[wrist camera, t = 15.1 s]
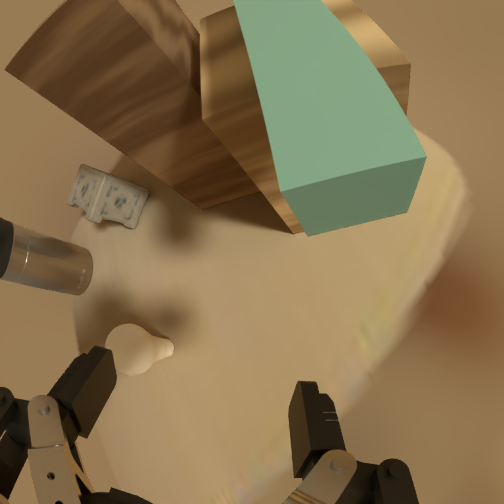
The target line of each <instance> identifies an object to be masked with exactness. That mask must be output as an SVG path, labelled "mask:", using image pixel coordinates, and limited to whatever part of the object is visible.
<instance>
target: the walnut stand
mask: <svg viewBox="0 0 504 504" xmlns="http://www.w3.org/2000/svg"><path fill="white" fill-rule="evenodd" d="M5 70H6V71H7V72H8V73H10V74H11V75H13V76H14V77H16V78H17V79H18V80H20V81H21V82H23V83H24V84H26V85H27V86H29V87H30V88H31V89H33V90H34V91H36V92H37V93H39V94H40V95H41V96H43V97H44V98H46V99H47V100H49V101H50V102H51V103H53V104H54V105H56V106H58V108H60V109H61V110H63V111H64V112H66V113H67V114H68V115H70V116H71V117H73V118H74V119H76V120H77V121H78V122H80V123H81V124H83V125H84V126H85V127H87V128H88V129H90V130H91V131H93V132H94V133H96V134H97V135H98V136H100V137H101V138H103V139H104V140H105V141H107V142H108V143H110V144H111V145H112V146H114V147H115V148H117V149H118V150H119V151H121V152H122V153H124V154H125V155H126V156H128V157H129V158H131V159H132V160H133V161H135V162H136V163H138V164H139V165H140V166H142V167H143V168H145V169H146V170H148V171H149V172H150V173H152V174H153V175H155V176H156V177H157V178H159V179H160V180H162V181H163V182H164V183H166V184H167V185H169V186H170V187H171V188H173V189H174V190H176V191H177V192H178V193H180V194H181V195H182V196H184V197H185V198H187V199H188V200H189V201H191V202H192V203H194V204H195V205H196V206H198V207H199V208H201V209H202V210H203V209H206V208H209V207H212V206H215V205H218V204H221V203H224V202H228V201H231V200H234V199H237V198H240V197H244V196H247V195H250V194H254V193H257V192H260V190H259V188H258V187H257V186H256V184H255V183H254V182H253V181H252V179H251V178H250V177H249V176H248V174H247V173H246V172H245V171H244V169H243V168H242V167H241V166H240V164H239V163H238V162H237V161H236V159H235V158H234V157H233V156H232V155H231V153H230V152H229V151H228V150H227V148H226V147H225V146H224V145H223V144H222V142H221V141H220V140H219V139H218V138H217V136H216V135H215V134H214V133H213V131H212V130H211V129H210V128H209V127H208V126H207V124H206V123H205V122H204V121H203V120H202V102H201V72H200V34H199V33H198V31H197V30H196V29H195V27H194V26H193V24H192V23H191V21H190V20H189V19H188V17H187V16H186V15H185V14H184V12H183V10H182V9H181V8H180V7H179V5H178V4H177V2H176V1H175V0H64V1H63V2H62V3H61V4H60V5H59V6H58V7H57V8H56V9H55V10H54V11H53V12H52V13H51V14H50V15H49V16H48V17H47V18H46V19H45V20H44V21H43V22H42V23H41V25H40V26H39V27H38V28H37V29H36V30H35V31H34V32H33V34H32V35H31V36H30V37H29V38H28V40H27V41H26V42H25V43H24V45H23V46H22V47H21V48H20V49H19V51H18V52H17V53H16V55H15V56H14V57H13V59H12V60H11V61H10V63H9V64H8V65H7V67H6V69H5Z"/></svg>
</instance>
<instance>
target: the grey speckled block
mask: <svg viewBox="0 0 504 504" xmlns="http://www.w3.org/2000/svg"><path fill="white" fill-rule="evenodd" d="M148 194H149V190H148V189H146V188H143V187H141V186H138V185H136V184H133V183H131V182H128V181H126V180H124V179H122V178H119V177H117V176H114V175H111V174H108V173H105V172H103V171H100V170H97V169H95V168H92V167H90V166H87V165H85V164H81V166H80V168H79V170H78V173H77V176H76V178H75V181H74V183H73V187H72V190H71V193H70V197H69V200H68V203H67V204H68V205H69V206H72V207H81V208H82V209H83V210H85V211H86V216H85V218H86V219H87V220H88V221H91V222H94V223H100V222H101V221H102V220H103V219H105V220H112V221H116V222H120V223H123V224H124V226H126V227H128V228H132V229H134V228H136V225H137V223H138V219H139V217H140V214H141V212H142V209H143V206H144V204H145V202H146V199H147V197H148Z"/></svg>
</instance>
